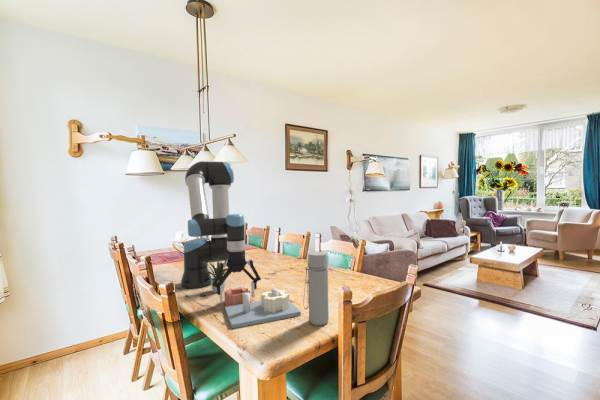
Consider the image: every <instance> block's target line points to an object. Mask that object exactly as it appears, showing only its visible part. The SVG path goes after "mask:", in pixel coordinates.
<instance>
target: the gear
mask: <svg viewBox="0 0 600 400" xmlns="http://www.w3.org/2000/svg"><path fill="white" fill-rule="evenodd" d="M223 293H224V295H223V296H224V304H225V307H228V306H234V305H240V304H243V293H250V294H251V291H250V290H249V288H248V287H244V286H243V287H242V286H238V287H237V288H232V287H231V288H229V289H225V290H224V291H223Z"/></svg>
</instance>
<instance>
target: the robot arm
mask: <svg viewBox="0 0 600 400" xmlns="http://www.w3.org/2000/svg"><path fill="white" fill-rule="evenodd" d="M234 174H235V173H234V169H233V167H232V164H231V163H230V162H227V161H203V160H202V161H198V162H196V163H194V164H192V165H191V166H190V167H189V168H188V169H187V170H186V173H185V176H184V178H185V179H184V180H185V185H186V187H187V189H188V198H189V206H190V207H189V208H190V215H191V219H189V220H187V233H188V236H189V237H191V238H193V237H194V239H190V240H188V241H185V242H184V244H183V250H182V252H183V268H184V269H183V273H182V277H181V280H180V287H182V288H183V289H184V288H185V289H198V288H203V287H207V286H209V285H211V286H212V285H213V287H217V293H216V294H217V296H219V302H220V304H223V300H224V299H223V292H222V286H221V285H222V284H223V282H224V281H225V282H226V280H227V278H229V275H232V273H234V274H235V273H241V272H242V271H243V272H244V273H245V274H246V276H248V277H249V278H250V280H252V281H251V282H250V287H251V288H250V289H251V291H250V294H251V297H252V299H254V298H256V296H255V295H256V294H255V291H256V290H257V283H258V282H259V281H261V276H260V275H259V273H258V271H257V270H256V268H255V267H256V266H254V261H253V260H252V259H251V258H250V259H248V260H246V250H245V249H246V241H245V237H246V235H245V234H246V233H245V216H244V214H243V213H230V202H229V198H230V197H229V189H230V188H231V187H232V184H233V183H234V181H235V175H234ZM205 184H208V187H209V188H210V189H211V195H212V198H211V199H212V200H211V201H212V218H210V213H209V209H208V203H207V201H208V200H207V197H206V192H205V191H206V189H205ZM205 236H206V237H205ZM208 236H210V239H209V240H208V239H207V237H208ZM195 237H196V238H195ZM197 237H198V238H197ZM199 237H200V238H199ZM201 237H202V238H201ZM218 258H219V263H220V267H219V270H218V272H217V274H216V276H215V279H214V281H213V283H212V284H211V278H212V276H211V274H208V273H206V272H207V271H209V270H210V269H209V264H210V262H211V263H212V262H213V263H216V262H218ZM210 260H211V261H210ZM222 260H223V261H222ZM226 260H227V262H226V263H224V262H225V261H226ZM221 261H222V262H221ZM204 262H205V263H204ZM246 265H248V266H249V267H250V269H251V270H252V272H253V274H254V276H255V277H254V276H253V274H252V273H250V272H249V271H248V269H246V268H245V267H246ZM225 267H227V268H228V270H226V271H225V272H226V273H225V274H224V275H223V277H222V278H221V279H220V281H219V282H218V280H219V277H220V275H221V273H222V271H223V269H226V268H225ZM209 272H210V271H209ZM217 282H218V283H217Z"/></svg>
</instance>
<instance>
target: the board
mask: <svg viewBox="0 0 600 400" xmlns="http://www.w3.org/2000/svg"><path fill="white" fill-rule="evenodd" d="M260 295H261V297H260V299H261V300H258V301H253V302H251V292H250V293H243V304H240V305H234V306H228V307H226V306H224V311H226V312H225V313H226V317H227V320H228V319H229V320H228V323H229V324H230V327H232V328H234V329H238V328H237V327H239V328H244V327H248V325H250V326H254V324H255V325H259V324H260V325H261V324H265V323H269V322H274V321H279V320H284V319H290V318H294V317H300V316H302V314H301V313H302V312H301V310H300V309H299V308H298V307H297V306H295V304H294V303H293V302H292V301H291V300H290V294H289V293H287V292H286V290H282V289H279V288H276V287H273V288H272V289H271V291H269V290H267V291H266V290H265V292H262V293H261V294H260ZM243 326H244V327H243ZM232 328H231V329H232Z"/></svg>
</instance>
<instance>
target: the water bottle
mask: <svg viewBox="0 0 600 400" xmlns="http://www.w3.org/2000/svg"><path fill="white" fill-rule="evenodd" d="M304 268H305V274H307V278H304V279H305V281H304V282H305V283H304V285H306V288H307V289H306V288H304V292H303V296H305V293H306V292H307V293H306V294H307V297H308V305H307V307H305V306H303V308H304V310H308V321H309V322H310V323H311V325H314V326H324V325H327V324H328V322H329V317H330V315H329V309H330V307H329V264H328V253H327V252H325V251H324V252H323V251H311V252H309V253H308V257H307V266H305V267H304ZM306 290H307V291H306ZM302 303H303V305H305V299H303V301H302Z"/></svg>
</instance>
